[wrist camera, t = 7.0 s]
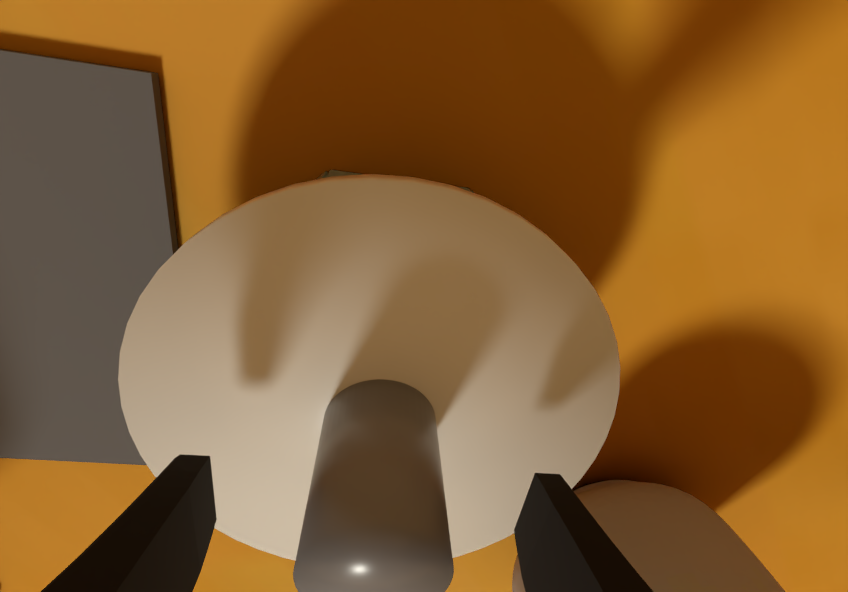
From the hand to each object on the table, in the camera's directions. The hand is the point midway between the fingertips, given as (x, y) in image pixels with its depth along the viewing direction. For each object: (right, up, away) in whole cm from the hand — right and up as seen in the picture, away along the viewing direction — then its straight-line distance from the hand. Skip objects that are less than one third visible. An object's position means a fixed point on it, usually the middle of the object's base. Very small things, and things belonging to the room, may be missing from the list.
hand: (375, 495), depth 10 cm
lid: (0, +1, +2) cm, 3 cm away
